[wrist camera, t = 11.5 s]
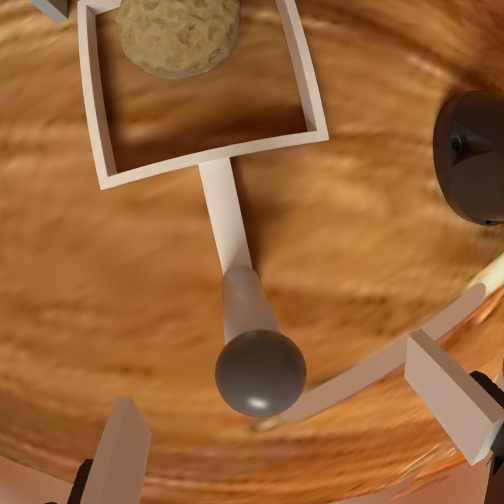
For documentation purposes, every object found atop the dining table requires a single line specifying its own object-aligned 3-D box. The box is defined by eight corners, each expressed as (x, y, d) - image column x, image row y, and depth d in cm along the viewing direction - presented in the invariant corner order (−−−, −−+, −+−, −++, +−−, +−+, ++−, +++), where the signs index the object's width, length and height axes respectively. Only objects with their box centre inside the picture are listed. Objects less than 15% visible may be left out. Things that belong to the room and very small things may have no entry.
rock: (249, 42, 25) (272, -42, 16) (210, 119, 22) (227, 9, 12) (159, 23, 24) (161, -57, 15) (100, 94, 21) (78, -4, 11)
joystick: (87, 12, 19) (8, -73, 4) (274, -28, 19) (320, -138, 5) (151, 321, 27) (108, 452, 12) (338, 278, 28) (436, 377, 13)
